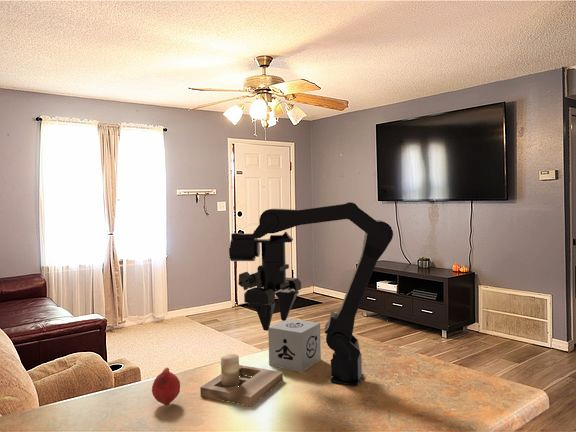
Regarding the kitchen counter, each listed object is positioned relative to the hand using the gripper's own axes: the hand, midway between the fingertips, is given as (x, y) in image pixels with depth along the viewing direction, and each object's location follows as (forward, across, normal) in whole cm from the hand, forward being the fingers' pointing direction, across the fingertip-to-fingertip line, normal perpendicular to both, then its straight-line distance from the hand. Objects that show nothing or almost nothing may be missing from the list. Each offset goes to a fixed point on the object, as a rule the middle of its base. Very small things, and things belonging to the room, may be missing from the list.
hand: (275, 325), depth 111 cm
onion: (+13, +22, -15) cm, 30 cm away
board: (+13, +8, -4) cm, 16 cm away
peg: (+13, +11, -6) cm, 18 cm away
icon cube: (+13, -12, 0) cm, 18 cm away
